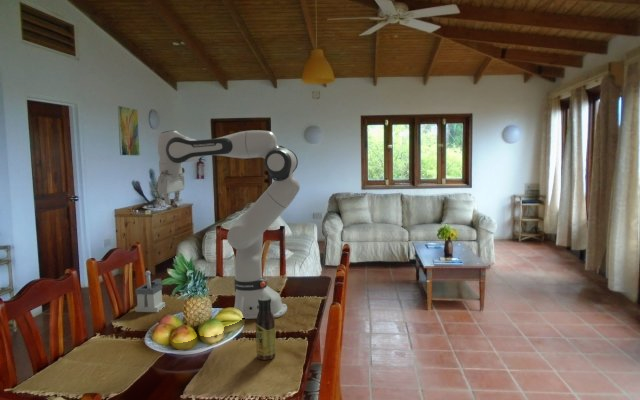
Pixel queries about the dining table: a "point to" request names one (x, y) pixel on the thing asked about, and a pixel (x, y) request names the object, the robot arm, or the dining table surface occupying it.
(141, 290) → the dark grey flat block
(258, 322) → the sauce bottle
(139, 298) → the grey post holder
